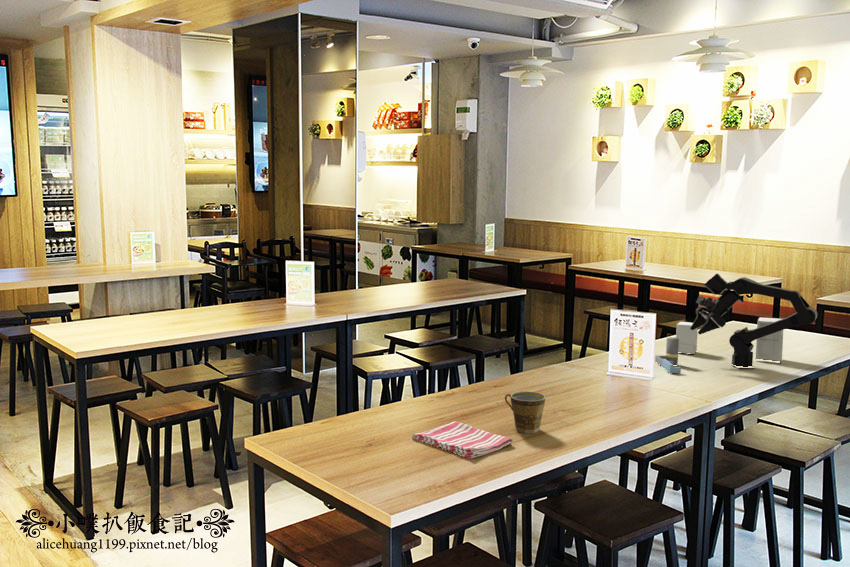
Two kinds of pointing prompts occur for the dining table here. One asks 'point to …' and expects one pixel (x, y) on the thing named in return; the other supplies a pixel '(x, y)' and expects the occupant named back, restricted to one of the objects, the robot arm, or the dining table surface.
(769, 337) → the supplement box
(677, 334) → the supplement box
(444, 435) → the dish towel
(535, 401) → the ceramic cup
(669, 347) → the gray banded cylinder
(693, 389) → the dining table surface
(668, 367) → the duct rail
